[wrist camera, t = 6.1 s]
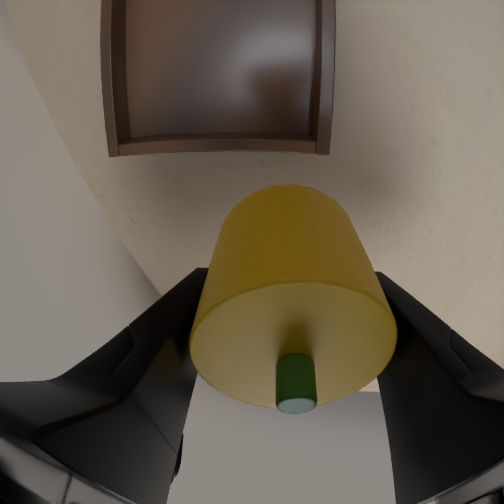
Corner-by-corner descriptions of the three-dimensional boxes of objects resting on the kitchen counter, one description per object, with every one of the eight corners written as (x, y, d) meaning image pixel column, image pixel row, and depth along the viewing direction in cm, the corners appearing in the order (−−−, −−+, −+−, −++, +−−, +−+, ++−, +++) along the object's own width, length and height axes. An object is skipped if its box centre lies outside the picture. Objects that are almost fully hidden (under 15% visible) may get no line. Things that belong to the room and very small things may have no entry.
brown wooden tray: (124, 148, 19) (108, 157, 17) (121, -45, 10) (107, -54, 8) (322, 147, 18) (329, 155, 16) (325, -62, 9) (331, -76, 8)
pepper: (224, 292, 13) (197, 439, 7) (216, 179, 10) (149, 321, 4) (340, 295, 12) (370, 438, 7) (361, 183, 10) (452, 321, 4)
